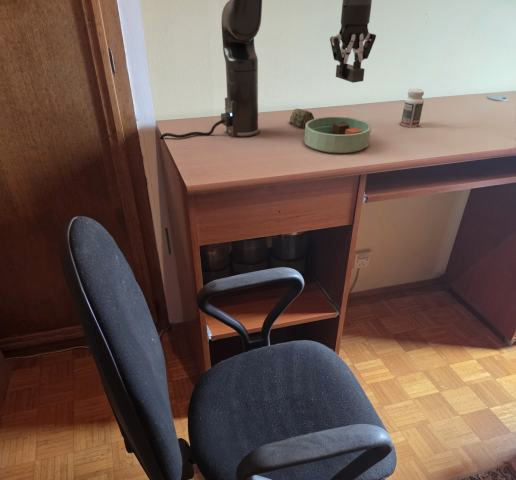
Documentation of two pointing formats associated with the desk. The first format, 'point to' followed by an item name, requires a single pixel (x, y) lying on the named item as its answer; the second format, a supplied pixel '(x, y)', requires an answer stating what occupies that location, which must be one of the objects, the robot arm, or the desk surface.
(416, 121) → the pill bottle
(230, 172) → the desk surface
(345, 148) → the bowl
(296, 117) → the rock
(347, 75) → the black rectangular block
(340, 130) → the walnut block
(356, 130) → the terracotta block
